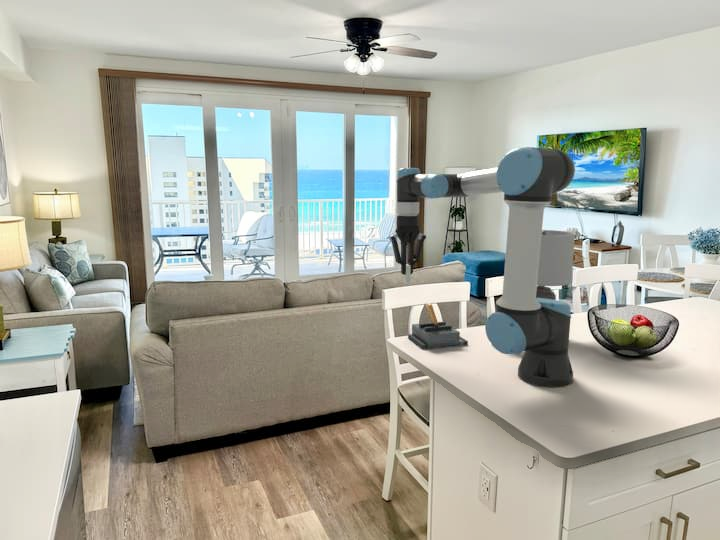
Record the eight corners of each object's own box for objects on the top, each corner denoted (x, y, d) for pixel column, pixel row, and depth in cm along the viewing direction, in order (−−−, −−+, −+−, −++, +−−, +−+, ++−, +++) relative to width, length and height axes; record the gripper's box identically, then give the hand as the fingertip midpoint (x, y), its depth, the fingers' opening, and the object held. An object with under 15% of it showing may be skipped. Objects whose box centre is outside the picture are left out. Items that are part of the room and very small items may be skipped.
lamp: (499, 334, 194) (503, 230, 188) (528, 324, 208) (533, 226, 201) (550, 347, 179) (557, 234, 173) (577, 335, 193) (585, 230, 186)
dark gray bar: (426, 348, 178) (426, 344, 178) (422, 349, 178) (422, 345, 178) (411, 338, 190) (411, 334, 190) (408, 338, 190) (408, 334, 190)
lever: (439, 325, 184) (432, 304, 182) (436, 327, 184) (429, 305, 181) (435, 323, 187) (428, 302, 184) (432, 325, 186) (425, 303, 184)
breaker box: (459, 345, 181) (460, 328, 180) (427, 349, 178) (427, 331, 177) (442, 334, 194) (442, 318, 193) (411, 337, 191) (412, 321, 190)
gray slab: (467, 345, 182) (467, 341, 182) (459, 345, 181) (460, 341, 181) (449, 333, 195) (449, 330, 195) (442, 334, 194) (442, 331, 194)
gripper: (421, 213, 181) (420, 280, 185) (385, 214, 177) (385, 282, 181) (430, 215, 174) (428, 284, 178) (393, 215, 170) (392, 286, 174)
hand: (406, 283), depth 180 cm, fingers closed
